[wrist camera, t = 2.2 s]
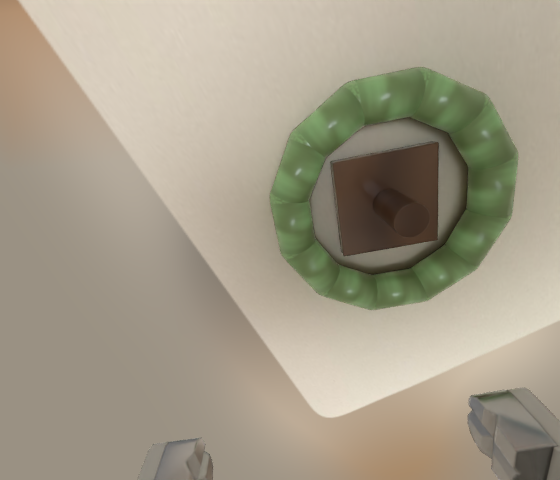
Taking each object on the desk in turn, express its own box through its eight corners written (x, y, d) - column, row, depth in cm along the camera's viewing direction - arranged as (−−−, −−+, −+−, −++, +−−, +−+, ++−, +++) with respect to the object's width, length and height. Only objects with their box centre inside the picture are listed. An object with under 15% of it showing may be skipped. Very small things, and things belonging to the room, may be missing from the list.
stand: (432, 141, 23) (477, 146, 18) (432, 235, 26) (470, 263, 21) (330, 161, 23) (345, 172, 18) (341, 252, 26) (357, 283, 21)
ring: (507, 50, 21) (543, 39, 18) (488, 277, 27) (512, 294, 25) (251, 103, 22) (247, 100, 19) (293, 309, 28) (295, 330, 26)
